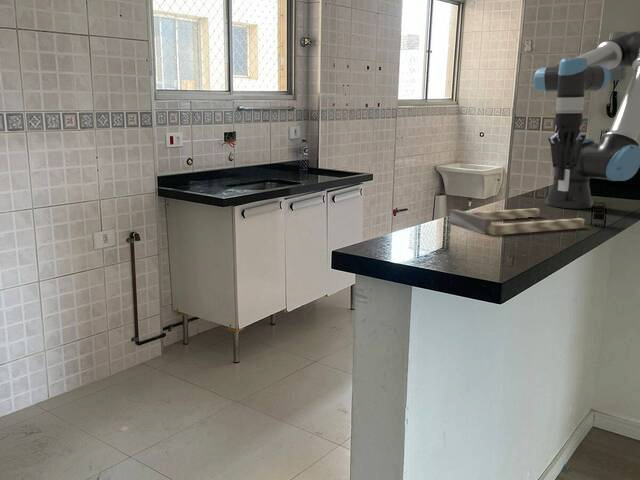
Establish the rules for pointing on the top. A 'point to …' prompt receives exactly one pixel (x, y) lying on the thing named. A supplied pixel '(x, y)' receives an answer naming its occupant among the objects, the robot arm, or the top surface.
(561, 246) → the top surface
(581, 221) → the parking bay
